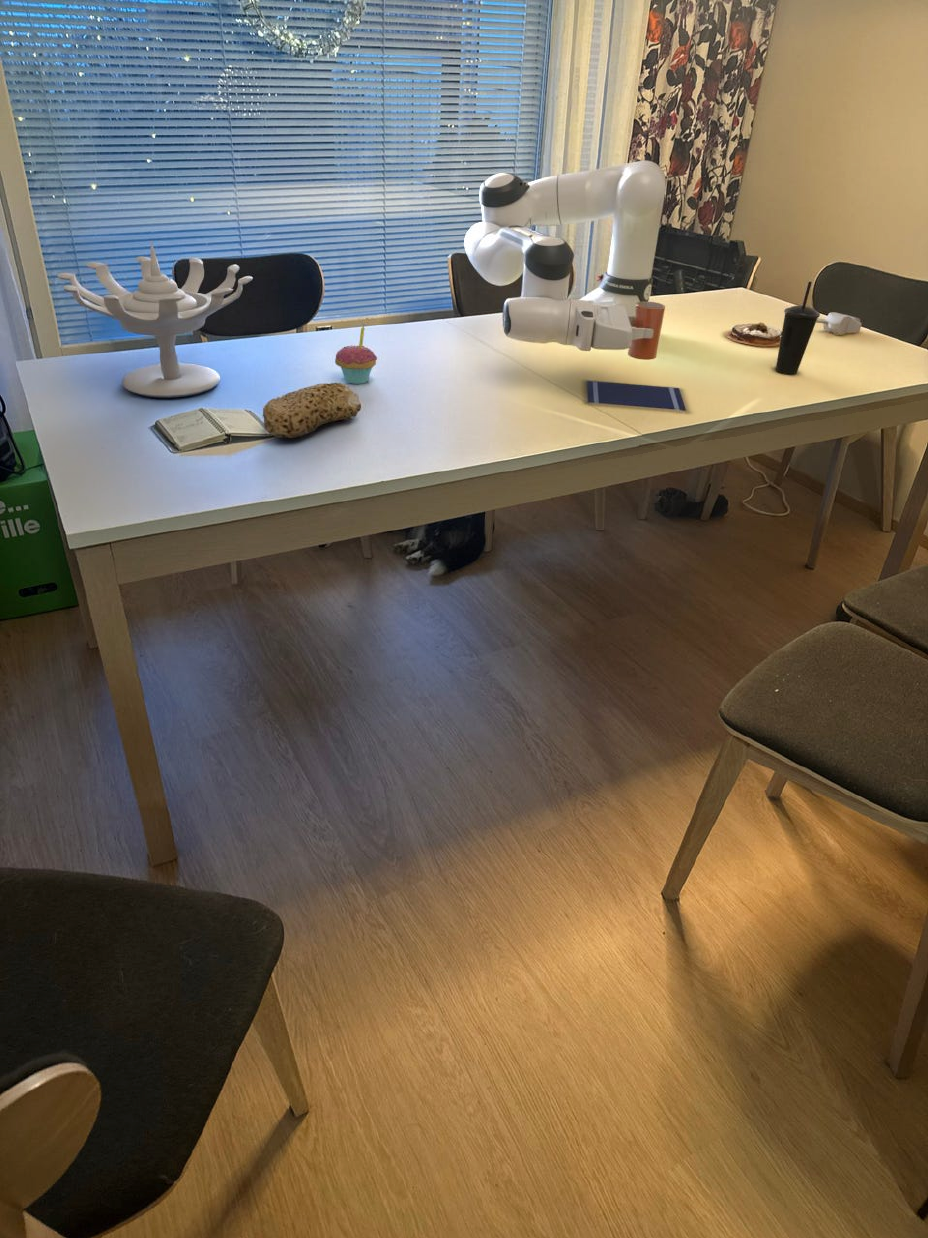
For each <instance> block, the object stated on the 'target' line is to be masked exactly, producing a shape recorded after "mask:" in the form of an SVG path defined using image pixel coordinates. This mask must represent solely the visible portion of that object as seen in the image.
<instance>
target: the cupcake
mask: <svg viewBox="0 0 928 1238" xmlns="http://www.w3.org/2000/svg"><path fill="white" fill-rule="evenodd" d="M359 335H360V336H359V343H358V345H347V346H344V347H341V349H339V350H338V351H337V352H336V354H335V359H334V364H335V365H336V366H338V367H340V369H341V371H342V374H343V377H344V381H345V382H346V383H349V384H353V385H362V384H366V383H368V381H369V379H370V375H371V372H372V369H373V368H374V367H375V366H376V364H377V360H378V357H377V355H376V354H375V352H374V351H373V350H371V349H370V348H368V347H366V346H364V345H363V343H364V335H365V323H363V324H362V326H361V328H360V334H359Z"/></svg>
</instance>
